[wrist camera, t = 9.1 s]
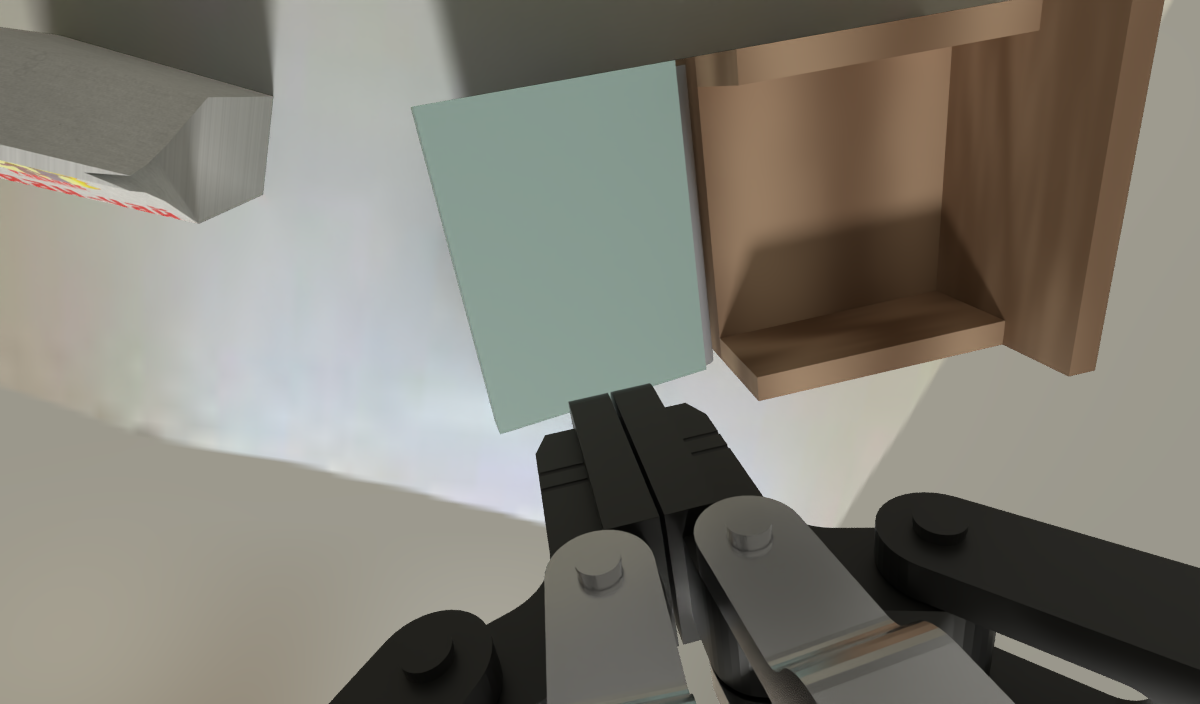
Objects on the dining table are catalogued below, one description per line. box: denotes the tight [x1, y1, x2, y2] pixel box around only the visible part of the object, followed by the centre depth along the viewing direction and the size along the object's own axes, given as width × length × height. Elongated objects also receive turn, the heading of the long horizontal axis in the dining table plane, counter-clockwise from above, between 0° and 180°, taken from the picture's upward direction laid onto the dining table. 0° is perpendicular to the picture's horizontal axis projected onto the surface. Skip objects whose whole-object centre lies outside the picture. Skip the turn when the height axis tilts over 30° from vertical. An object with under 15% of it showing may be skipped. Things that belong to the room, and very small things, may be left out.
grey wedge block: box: [0, 27, 273, 224], centre depth 18 cm, size 4×7×10 cm, turn 73°
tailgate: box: [411, 60, 713, 434], centre depth 23 cm, size 1×12×10 cm
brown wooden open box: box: [675, 0, 1164, 401], centre depth 23 cm, size 11×12×10 cm
